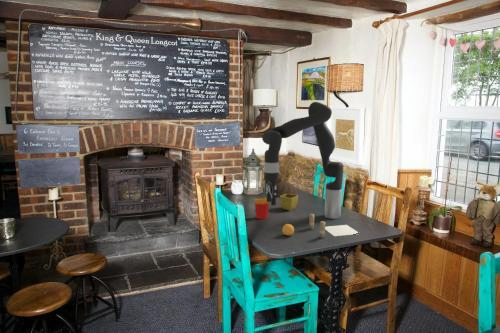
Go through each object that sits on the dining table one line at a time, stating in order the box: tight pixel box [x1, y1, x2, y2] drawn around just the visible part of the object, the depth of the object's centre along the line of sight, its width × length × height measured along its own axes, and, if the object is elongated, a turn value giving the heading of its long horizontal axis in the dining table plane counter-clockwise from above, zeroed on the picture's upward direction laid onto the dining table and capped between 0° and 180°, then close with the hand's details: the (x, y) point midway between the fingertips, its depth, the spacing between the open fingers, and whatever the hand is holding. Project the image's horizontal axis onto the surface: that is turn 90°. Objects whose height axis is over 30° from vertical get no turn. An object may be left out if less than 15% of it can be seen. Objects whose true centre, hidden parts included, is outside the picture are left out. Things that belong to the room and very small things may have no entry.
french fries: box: [254, 197, 270, 220], centre depth 232 cm, size 8×4×12 cm, turn 94°
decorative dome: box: [276, 181, 299, 198], centre depth 289 cm, size 19×20×10 cm
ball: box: [282, 223, 295, 237], centre depth 203 cm, size 6×6×6 cm
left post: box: [308, 213, 315, 230], centre depth 214 cm, size 3×3×8 cm
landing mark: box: [325, 224, 358, 238], centre depth 211 cm, size 15×15×1 cm
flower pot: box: [279, 194, 299, 211], centre depth 250 cm, size 9×9×9 cm
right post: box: [319, 220, 326, 239], centre depth 201 cm, size 3×3×8 cm
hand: (271, 203), depth 198 cm, fingers open, 6 cm apart
